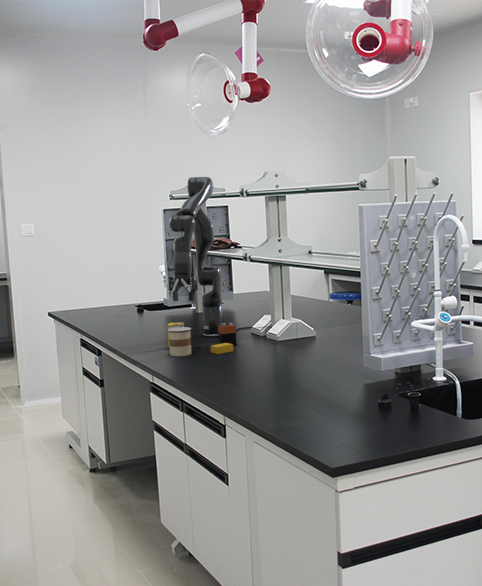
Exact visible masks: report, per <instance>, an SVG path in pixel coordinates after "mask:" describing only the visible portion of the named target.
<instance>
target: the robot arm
mask: <svg viewBox="0 0 482 586" xmlns="http://www.w3.org/2000/svg"><path fill="white" fill-rule="evenodd" d="M213 193H214V183H213V179H212V178H211V177H209V176H193V177H192V176H191V177H189V178H188V180H187V195H188V198H187V199H186V200H185V201H184V202H183V203H182V205H181V207H180V209H179V210H177V211H175V213H174V214H173V215H172V216H171V217H170V219H169V221H168V227H169V229H170V230H171V231H172V232H174V233H184V234H183V235H182V236H180V237H176V238H175V239H173V274H174V276H169V277H168V291H169V292H172V300H173V302H179V290H180V289H181V288H182V287H183V288H184V287H185V289H187V291H188V302H194V300H195V292H197V291H198V290H199V285H200V286H207V287H209V286H210V287H211V286H212V289H211V290H209V291H207V292H204V293H203V294H202V295H201V307H202V308H201V309H202V327H203V337H207V338H216V337H219V330H218V326H219V325H221V323H225V315H224V314H223V303H222V291H223V290H222V269H221V268H220V266H219V265H206V257H207V255H208V253H209V250H210V249H211V247H212V245H213V243H214V240H215V231H214V225H213V222H212V220H211V219H210V218H209V216H208V215H207V214H206V213H205V211H204V209H203V208H202V206H203V205H204V204H205V203H206V202H207V201H208V200H209V199H210V197H211V196H212V194H213ZM192 238H193V241H194V246H195V254H196V255H195V256H196V275H192V274H193V255H192ZM247 329H253V328H252V326H244V327H237V328H236V332H237V331H240V330H247Z"/></svg>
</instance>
